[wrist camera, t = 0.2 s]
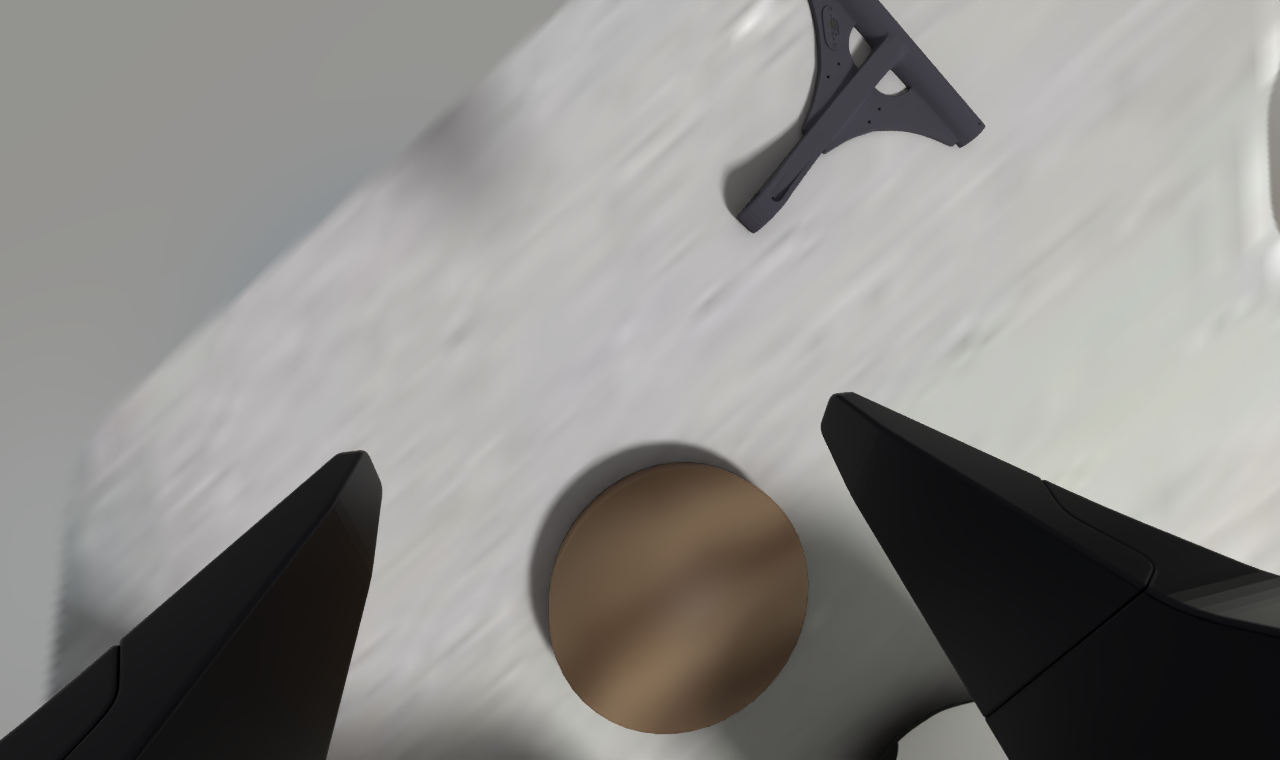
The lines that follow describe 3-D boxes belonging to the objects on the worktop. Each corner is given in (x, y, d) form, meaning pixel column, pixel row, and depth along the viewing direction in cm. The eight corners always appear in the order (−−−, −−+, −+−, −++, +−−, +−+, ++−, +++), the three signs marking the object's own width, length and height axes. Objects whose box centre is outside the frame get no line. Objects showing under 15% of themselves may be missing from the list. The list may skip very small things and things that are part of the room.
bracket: (642, 138, 24) (654, 110, 22) (806, -51, 26) (837, -100, 23) (823, 314, 27) (854, 309, 24) (963, 134, 28) (1007, 111, 26)
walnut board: (834, 605, 27) (850, 619, 26) (641, 763, 25) (647, 788, 24) (714, 412, 25) (724, 415, 24) (494, 567, 23) (491, 580, 22)
